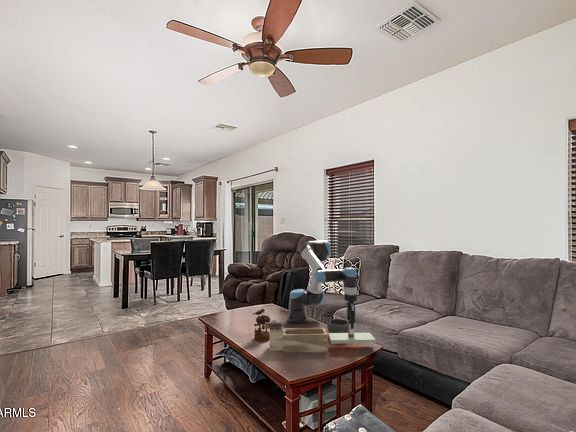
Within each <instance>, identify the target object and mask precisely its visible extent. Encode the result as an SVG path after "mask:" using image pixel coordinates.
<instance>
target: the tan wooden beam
mask: <svg viewBox="0 0 576 432" xmlns="http://www.w3.org/2000/svg"><path fill="white" fill-rule="evenodd" d="M282 327H283V322H282V321H276V329H282ZM266 329H267V330H270V329H271V321H270V322H265V330H266Z"/></svg>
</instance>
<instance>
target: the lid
mask: <svg viewBox="0 0 576 432" xmlns="http://www.w3.org/2000/svg"><path fill="white" fill-rule="evenodd" d="M347 321H348V333H329V332H328V333H327V334H328V339H329V342H330V344H332V345H334V344H336V345H337V344H376V338H375V337H374V336H373V334H372V333H371V332H354V334H350V333H349V322H350V320H347Z"/></svg>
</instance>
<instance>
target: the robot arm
mask: <svg viewBox="0 0 576 432" xmlns="http://www.w3.org/2000/svg"><path fill="white" fill-rule="evenodd" d="M299 254H300V256H301V258H302V259H303V260H305V261H306V262H307V264H308V266H309V267H310V268H311V276H310V282H309V283H310V284H309V286H308V287H307V290H305V288H304V289H303V288H298V289H293V290H291V291H290V292H289V311H288V315H287V321H288V323H292V324H305V323H306V322H308V315H307V313H306V307H313V306H321V305H323V303H324V302H325V292H324V290H323V288H322V284H324V283H334V282H335V283H336V282H339V283H340V282H343V284H344V285H343V286H344V287H343V293H344V294H343V295H344V296H343V297H344V301H346V318H347V321H349V320H350V322H349V333H350V334H354V333H355V324H356V305H355V303H354V302H357V301H358V274H357V269H356V268H355V267H345V268H337V269H327V268H326V266H325V262H326V261H327V260H328V258H329V257H330V256H331V255H332V246H331V243H330V242H329V240H322V239H321V240H308V241H305V242H304V243H302V244H301V245H300V248H299Z"/></svg>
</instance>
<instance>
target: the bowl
mask: <svg viewBox="0 0 576 432" xmlns="http://www.w3.org/2000/svg"><path fill="white" fill-rule="evenodd" d="M348 321H349V320H346V319H342V318H333V319H330V320H329V321H328V323H327V330H328V331H327V332H328V333H348Z"/></svg>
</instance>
